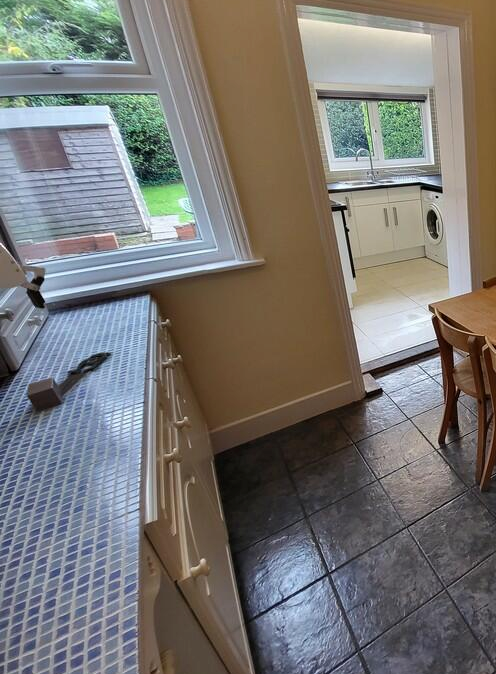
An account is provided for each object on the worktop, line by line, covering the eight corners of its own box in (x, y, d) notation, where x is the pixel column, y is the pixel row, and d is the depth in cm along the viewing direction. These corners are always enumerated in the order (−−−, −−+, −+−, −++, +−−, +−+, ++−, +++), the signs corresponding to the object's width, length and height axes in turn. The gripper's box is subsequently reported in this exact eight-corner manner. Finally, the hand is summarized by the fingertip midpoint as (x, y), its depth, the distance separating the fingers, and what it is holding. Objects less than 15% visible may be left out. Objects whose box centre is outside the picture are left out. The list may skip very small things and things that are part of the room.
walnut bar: (62, 404, 94) (52, 387, 92) (37, 412, 92) (26, 395, 90) (62, 392, 99) (52, 376, 97) (38, 400, 96) (28, 384, 94)
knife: (58, 405, 95) (55, 400, 94) (24, 410, 94) (21, 405, 93) (119, 354, 117) (117, 349, 117) (92, 358, 116) (90, 353, 115)
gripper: (13, 227, 90) (54, 299, 97) (-118, 248, 75) (-58, 331, 83) (29, 228, 87) (70, 303, 94) (-104, 251, 73) (-43, 336, 80)
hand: (10, 316), depth 88 cm, fingers open, 9 cm apart
